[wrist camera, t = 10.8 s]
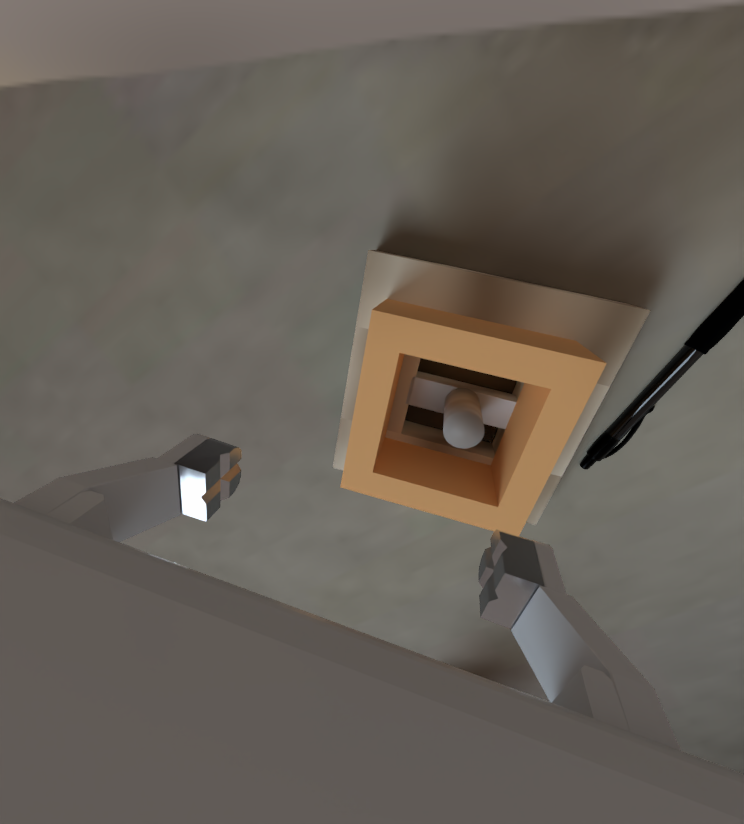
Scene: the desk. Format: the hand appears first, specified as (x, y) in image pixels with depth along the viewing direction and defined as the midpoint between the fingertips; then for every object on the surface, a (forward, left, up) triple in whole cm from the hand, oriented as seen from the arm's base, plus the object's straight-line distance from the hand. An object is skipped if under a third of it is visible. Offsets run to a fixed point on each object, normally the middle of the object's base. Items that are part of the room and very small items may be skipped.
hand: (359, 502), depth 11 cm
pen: (-14, -3, -14) cm, 20 cm away
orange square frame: (-3, +1, -11) cm, 12 cm away
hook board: (-4, 0, -13) cm, 14 cm away
